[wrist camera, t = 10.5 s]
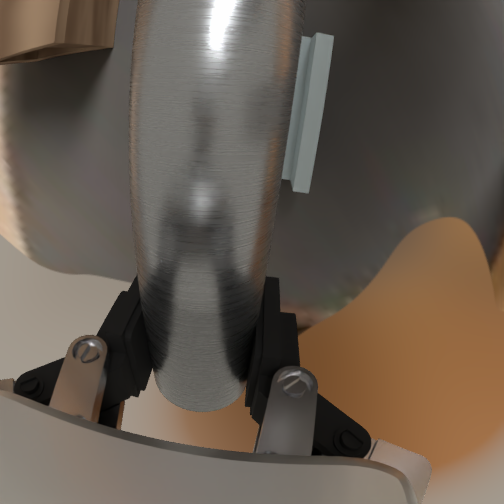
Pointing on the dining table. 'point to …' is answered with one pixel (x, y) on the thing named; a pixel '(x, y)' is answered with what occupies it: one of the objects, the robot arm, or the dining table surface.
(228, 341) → the axle
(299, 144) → the cradle
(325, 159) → the dining table surface
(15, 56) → the hollow wooden box
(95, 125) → the dining table surface
